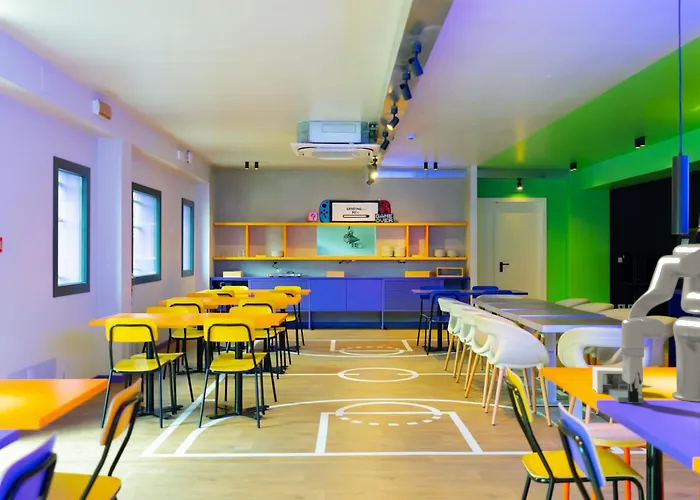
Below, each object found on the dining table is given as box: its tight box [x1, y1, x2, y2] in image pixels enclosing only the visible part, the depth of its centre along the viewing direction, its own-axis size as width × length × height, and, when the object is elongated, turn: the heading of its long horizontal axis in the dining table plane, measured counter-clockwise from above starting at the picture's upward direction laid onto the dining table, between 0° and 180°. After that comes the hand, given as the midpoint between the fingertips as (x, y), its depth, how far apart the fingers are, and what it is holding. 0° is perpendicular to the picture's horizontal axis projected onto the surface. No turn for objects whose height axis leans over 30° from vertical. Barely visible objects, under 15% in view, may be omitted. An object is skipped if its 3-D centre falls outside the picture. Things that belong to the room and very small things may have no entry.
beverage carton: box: [603, 374, 628, 389], centre depth 259 cm, size 8×19×7 cm, turn 115°
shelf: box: [592, 366, 643, 396], centre depth 246 cm, size 17×8×9 cm, turn 81°
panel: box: [608, 388, 645, 405], centre depth 233 cm, size 9×16×2 cm, turn 169°
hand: (633, 401), depth 224 cm, fingers closed
